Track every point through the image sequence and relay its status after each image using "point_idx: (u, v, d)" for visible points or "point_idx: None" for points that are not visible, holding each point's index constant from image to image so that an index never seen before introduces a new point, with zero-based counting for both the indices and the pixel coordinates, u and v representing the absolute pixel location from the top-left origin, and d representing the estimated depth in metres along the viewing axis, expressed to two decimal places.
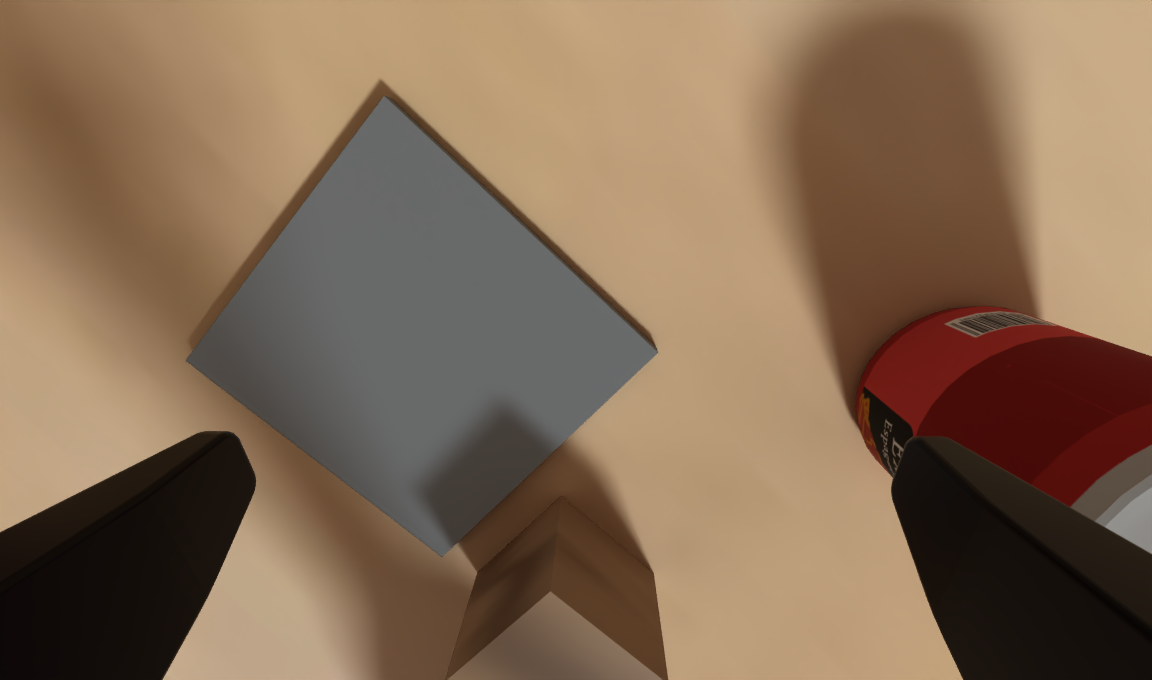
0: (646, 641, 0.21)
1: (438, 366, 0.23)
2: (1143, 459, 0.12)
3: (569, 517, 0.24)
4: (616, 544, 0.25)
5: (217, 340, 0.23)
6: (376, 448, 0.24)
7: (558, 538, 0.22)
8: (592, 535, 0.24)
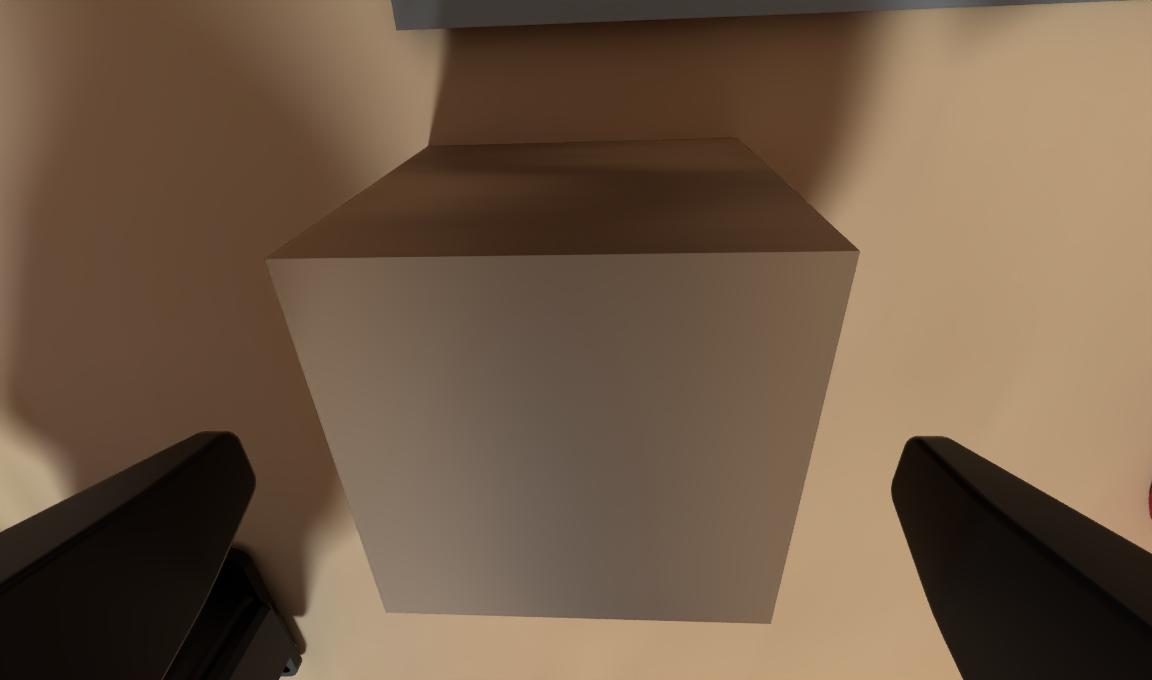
0: None
1: None
2: None
3: None
4: None
5: None
6: None
7: (777, 182, 0.08)
8: None
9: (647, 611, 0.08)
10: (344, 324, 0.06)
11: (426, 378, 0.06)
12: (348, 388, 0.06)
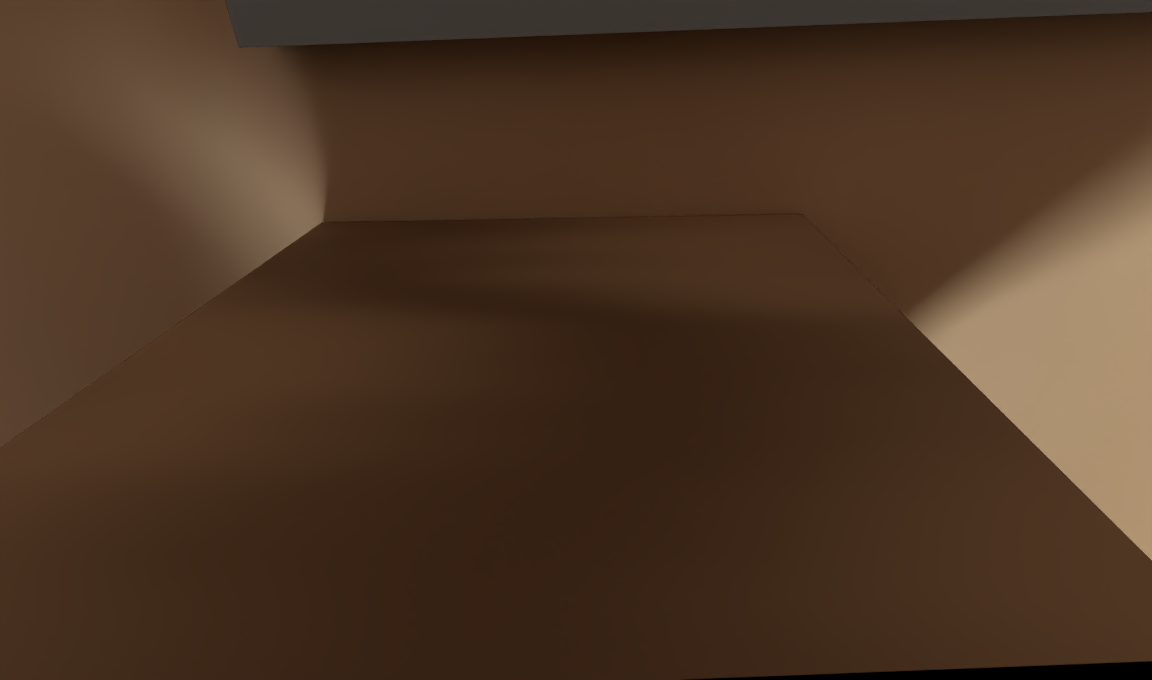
0: None
1: None
2: None
3: None
4: None
5: None
6: None
7: (926, 352, 0.04)
8: None
9: None
10: None
11: None
12: None
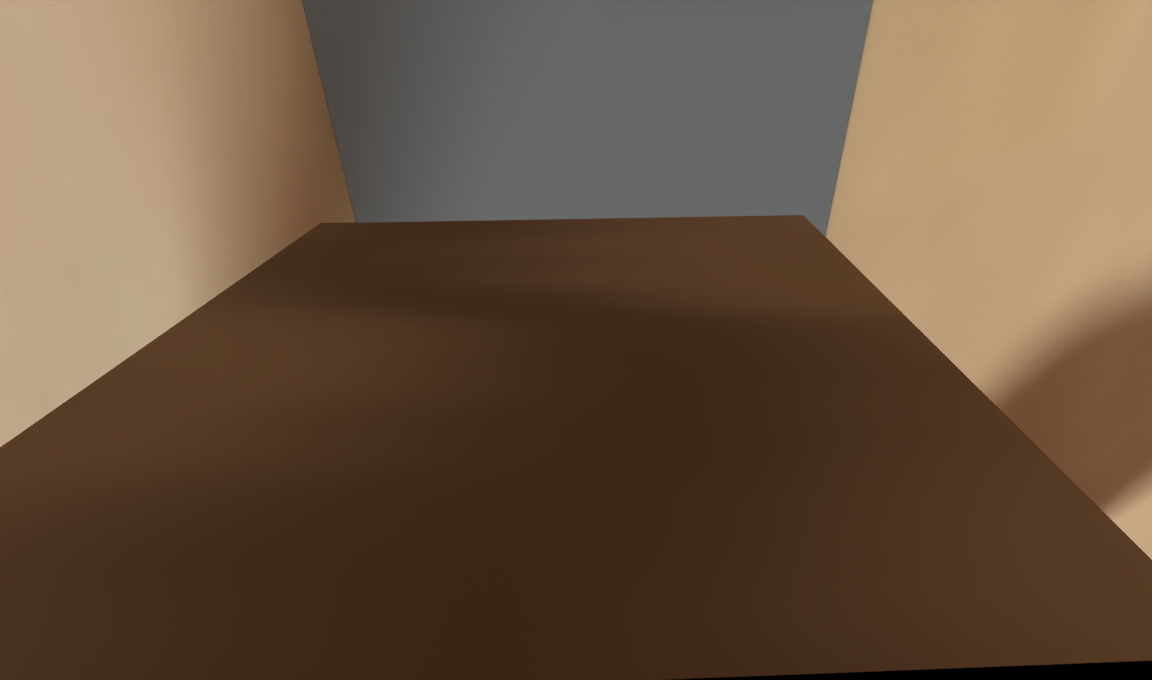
0: None
1: None
2: None
3: None
4: None
5: None
6: None
7: (929, 353, 0.04)
8: None
9: None
10: None
11: None
12: None
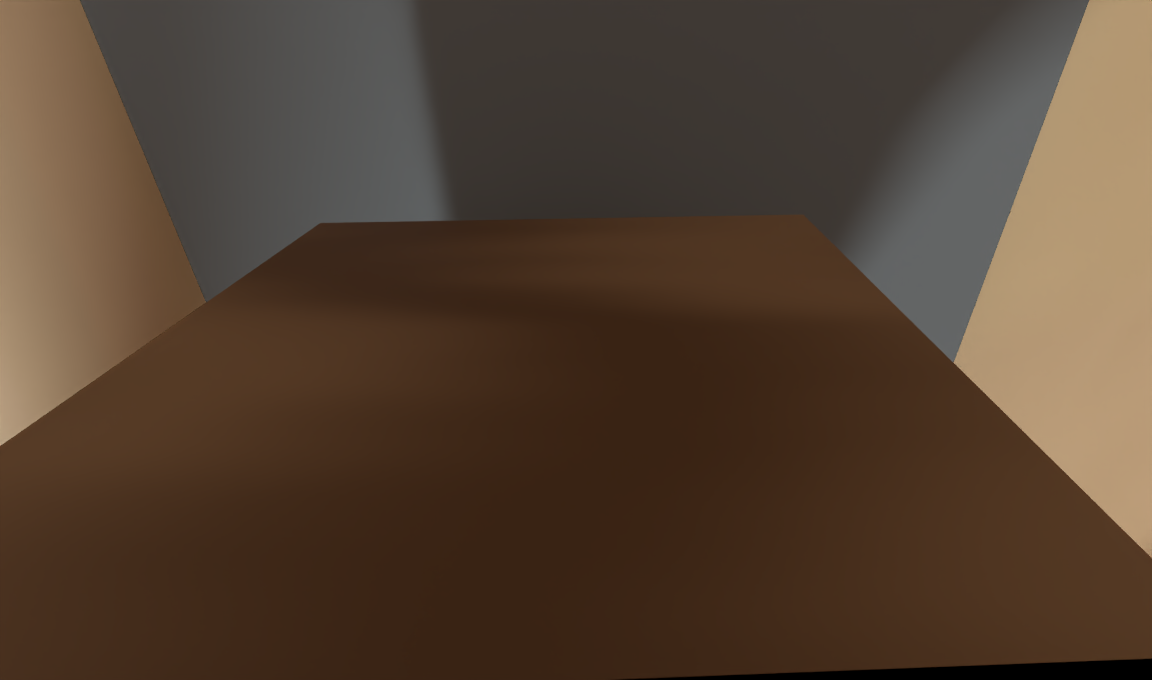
0: None
1: None
2: None
3: None
4: None
5: None
6: None
7: (929, 353, 0.04)
8: None
9: None
10: None
11: None
12: None
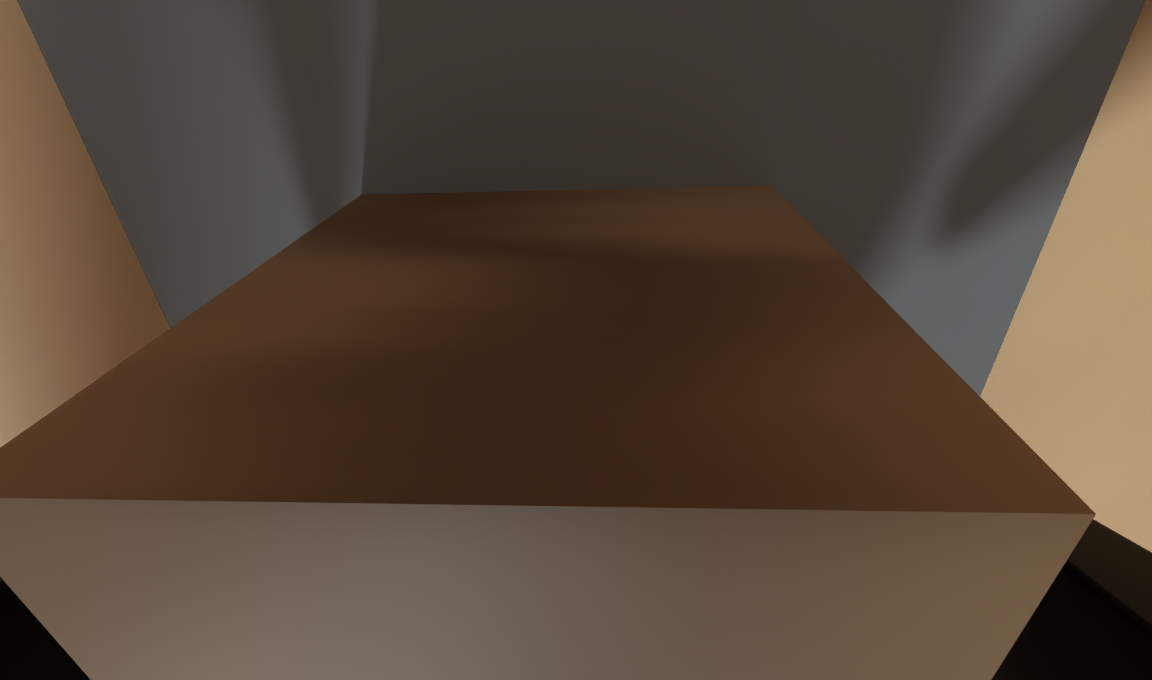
0: None
1: None
2: None
3: None
4: None
5: None
6: None
7: (853, 278, 0.05)
8: None
9: None
10: (113, 590, 0.03)
11: (273, 661, 0.04)
12: (143, 668, 0.04)
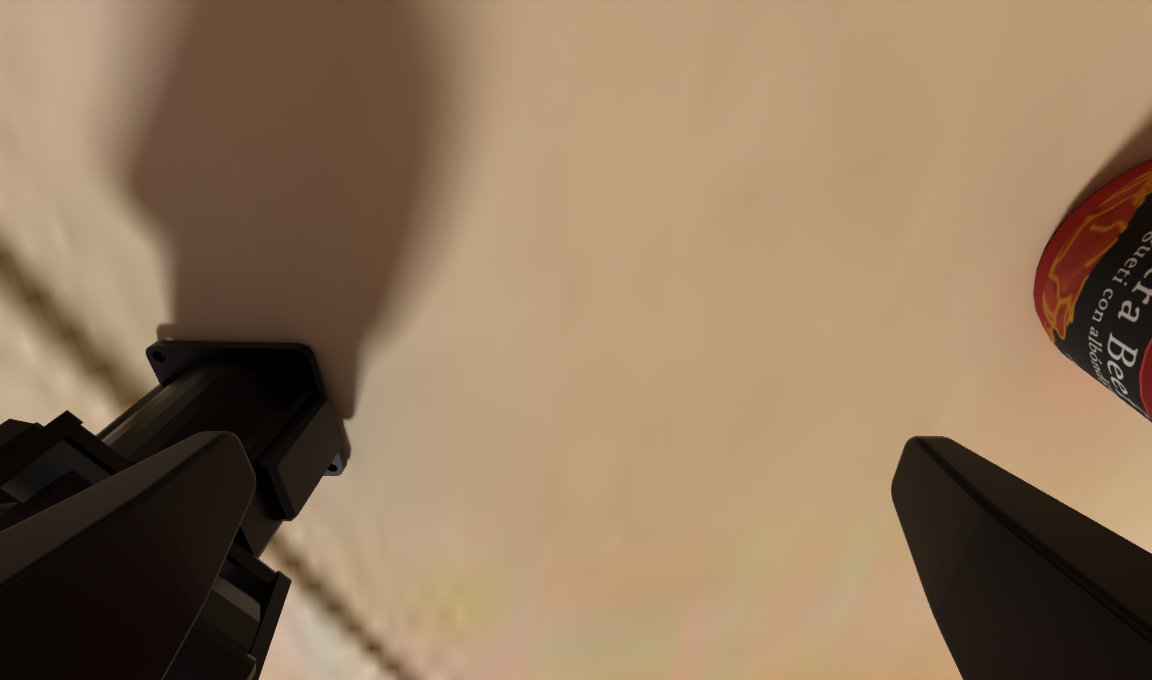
0: None
1: None
2: None
3: None
4: None
5: None
6: None
7: None
8: None
9: None
10: None
11: None
12: None
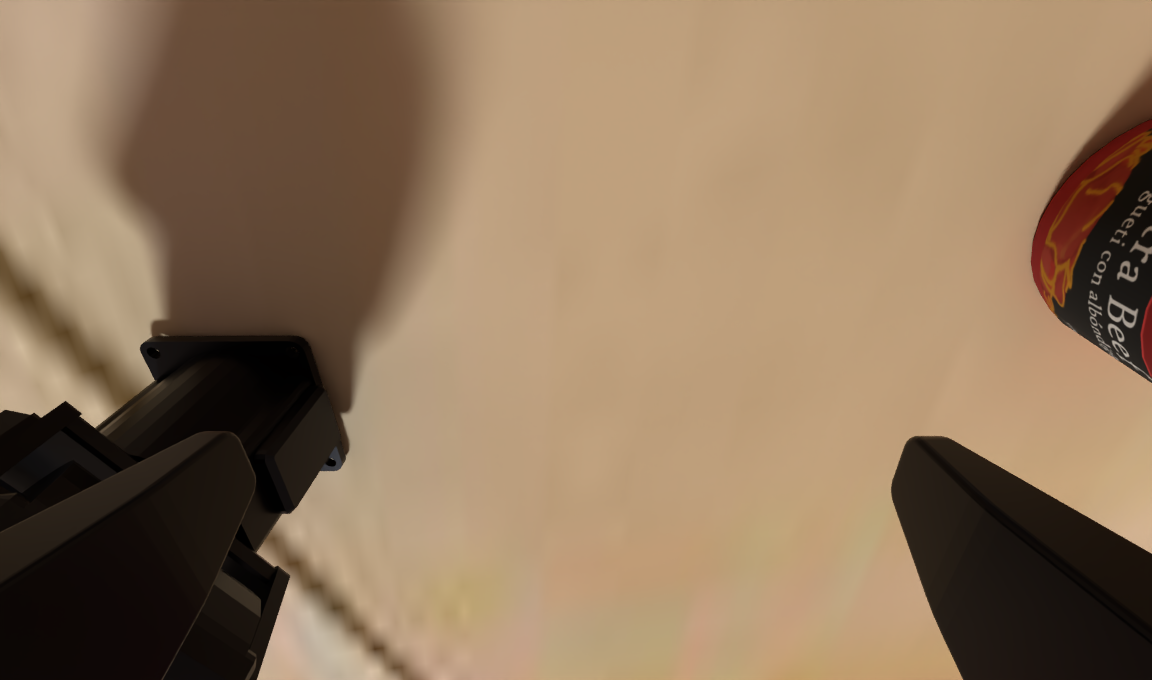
0: None
1: None
2: None
3: None
4: None
5: None
6: None
7: None
8: None
9: None
10: None
11: None
12: None
